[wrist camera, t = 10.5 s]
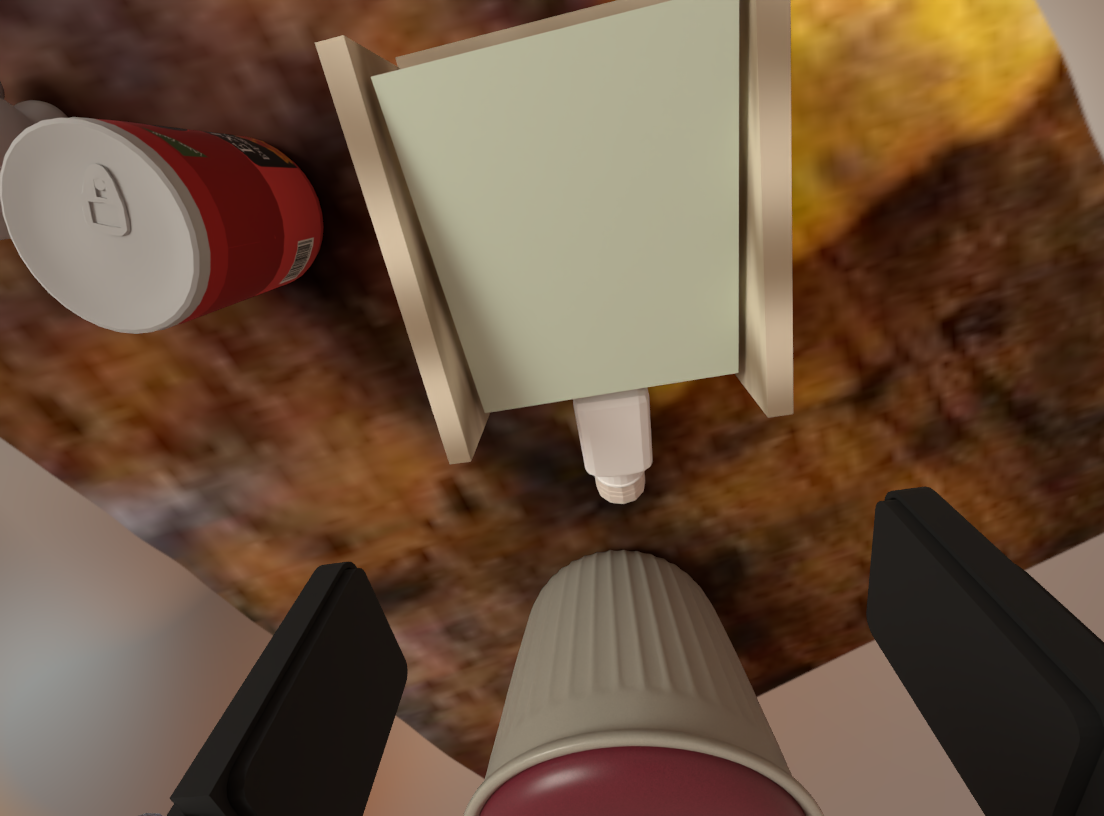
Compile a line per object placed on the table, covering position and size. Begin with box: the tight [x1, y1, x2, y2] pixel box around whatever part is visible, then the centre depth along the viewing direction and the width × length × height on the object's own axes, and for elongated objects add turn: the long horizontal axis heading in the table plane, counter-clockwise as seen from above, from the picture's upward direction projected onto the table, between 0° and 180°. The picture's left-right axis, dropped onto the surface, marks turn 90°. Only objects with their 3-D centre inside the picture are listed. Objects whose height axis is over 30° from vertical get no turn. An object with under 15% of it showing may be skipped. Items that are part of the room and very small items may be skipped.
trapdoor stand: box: [315, 0, 793, 464], centre depth 24 cm, size 18×15×11 cm
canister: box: [464, 550, 824, 816], centre depth 31 cm, size 18×18×21 cm
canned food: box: [0, 117, 324, 334], centre depth 25 cm, size 8×8×11 cm
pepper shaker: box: [573, 387, 653, 504], centre depth 31 cm, size 4×4×10 cm
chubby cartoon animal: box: [0, 82, 68, 240], centre depth 26 cm, size 7×12×8 cm, turn 45°
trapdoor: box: [371, 0, 739, 413], centre depth 21 cm, size 14×12×2 cm
